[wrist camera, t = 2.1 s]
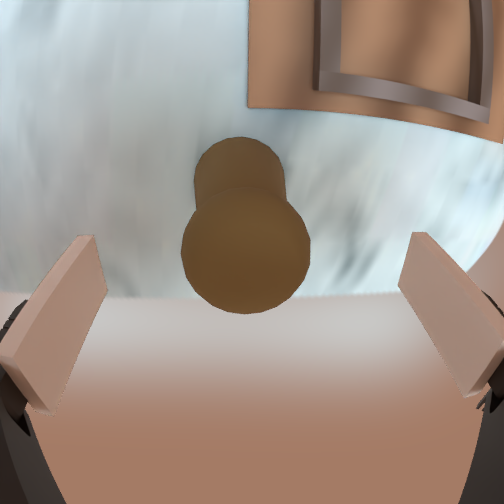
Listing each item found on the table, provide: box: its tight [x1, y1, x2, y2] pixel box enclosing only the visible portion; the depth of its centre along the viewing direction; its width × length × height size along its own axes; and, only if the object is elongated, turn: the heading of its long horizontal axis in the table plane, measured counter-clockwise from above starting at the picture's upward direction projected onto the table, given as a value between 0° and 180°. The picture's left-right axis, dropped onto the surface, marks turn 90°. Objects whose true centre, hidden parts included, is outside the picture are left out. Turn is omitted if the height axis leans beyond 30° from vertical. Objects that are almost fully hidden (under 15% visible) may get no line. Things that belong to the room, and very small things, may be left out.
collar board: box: [248, 0, 504, 144], centre depth 14 cm, size 21×16×2 cm
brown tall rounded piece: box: [181, 137, 310, 314], centre depth 16 cm, size 6×6×11 cm
